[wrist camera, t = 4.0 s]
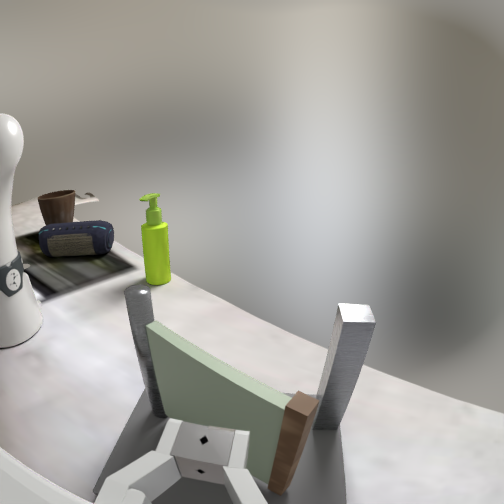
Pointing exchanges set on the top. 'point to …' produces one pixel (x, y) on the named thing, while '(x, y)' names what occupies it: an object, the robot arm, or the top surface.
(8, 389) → the top surface
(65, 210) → the plant pot
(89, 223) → the portable speaker
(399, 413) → the top surface
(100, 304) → the top surface
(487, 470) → the top surface
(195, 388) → the gate leaf
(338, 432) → the gate frame
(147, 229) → the soap dispenser
